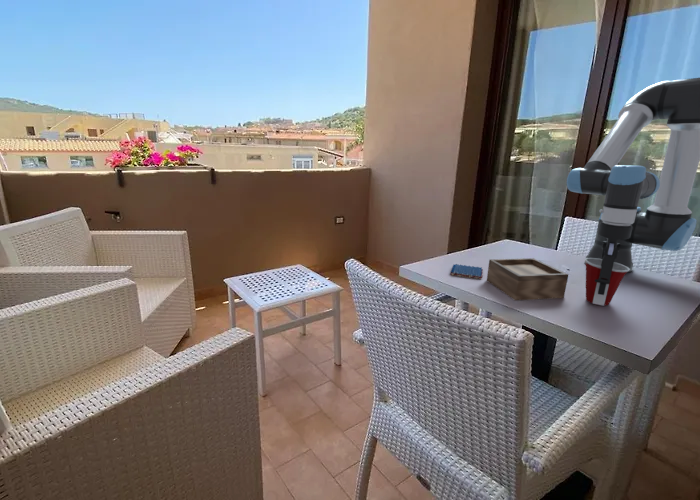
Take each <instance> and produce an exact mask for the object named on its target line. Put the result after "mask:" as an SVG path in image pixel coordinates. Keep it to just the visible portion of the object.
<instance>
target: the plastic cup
mask: <svg viewBox="0 0 700 500" xmlns="http://www.w3.org/2000/svg"><path fill="white" fill-rule="evenodd" d="M585 258H586V257H585ZM585 262H586V264H585V300H586V301H587V302H588V303H590V304H593V299H594V294H595V290H596V285H597V282H595V279H596V280H598V279H599V275H600V271H601V264H602V259H597V258H586V259H584V263H585ZM629 270H630V269H629V268H628V267H626V266H624V265H622V264H619V263H616V262H614V264H613V268H612V273H611V277H610V283H609V286H608V291H607V295H606V299H605V304H604V306H609V305H610V303H611V302H612V300H613V297H614V296H615V294H616V292H617V290H618V288H619V286H620V284H621V281H622V280H623V278H624V277H625V275H626V274H627V273H629V272H628V271H629ZM603 279H606V278H603ZM595 305H597V306H599V305H598V304H595Z"/></svg>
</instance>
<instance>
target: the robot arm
mask: <svg viewBox="0 0 700 500" xmlns="http://www.w3.org/2000/svg"><path fill="white" fill-rule="evenodd" d="M617 117H618V119H617V120H616V122H615V123H614V124H613V126H612V127H611V128H610V130H609V132H608V133H607V135H606V136H605V137H604V138H603V140H602V142H601V143H600V145H599V146H598V147H597V148H596V150H595V151H594V153H593V154H592V156H591V157H590V158H589V160H588V162H586V163H585V165H584V166H583V167H577V168H576V167H575V168H573V169H571V170H570V172H568V175H567V178H566V188H567V189H568V191H570V192H573V193H577V194H587V195H598V196H605V197H604V202H603V207H602V208H601V209H599V213H600V215H599V218H598V222H597V228H596V233H595V236H594V242H593V245H592V247H591V248H590V251H589V252H588V254H587V255H586V256H585V257H584V258H585V259H586V258H597V259H602V264H601V271H600V275H599V279H598V280H596V279H595V282H597V285H596V290H595V294H594V299H593V303H592V304H593V305H596V304H598V305H597V306H605V305H604V304H605V299H606V295H607V291H608V286H609V283H610V277H611V273H612V268H613V264H614V262H616V263H619V264H622V265H624V266H626V267H628V268H629V269H630V270H629V271H628V272H627V273H630V272H632V271H633V269H634V263H633V258H632V256H633V255H632V249H633V248H632V246H633V245H638V246H644V247H649V248H654V249H659V250H661V251H671V252H679V251H681V250H682V249H683V248H685V246H686V245H687V244H688V242H689V241H690V239H691V238H692V235H693V233H694V231H695V229H696V226H697V221H698V220H697V219H696V218H694V217H692V215H693V212H692V210H691V209H690V208H689V207H688V206H689V201H690V198H691V193H692V189H693V186H694V181H695V178H696V176H697V172H698V168H699V164H700V77H695V78H694V77H693V78H683V79H676V80H663V81H660V82H656V83H655V84H652V85H649V86H647V87H646V88H644V89H643V90H640V91H639V92H638V93H636V94H635V95H634V96H632V97H631V98H630V99H629V100H628V101H626V103H625V104H624V105H623V106H622V107H621V109H620V110H619V112H618V115H617ZM656 120H667V122H666V126H667V127H668V128H669V129H670V134H669V139H668V143H667V146H666V147H667V148H666V151H665V156H664V159H663V164H662V168H661V172H660V176H659V177H660V178H659V177H658V175H656V174H655V173H654V172H651V171H647V167H646V166H643V165H633V164H632V165H629V164H627V165H626V164H619V163H620V161H621V160H622V158H623V157H624V155H625V154H626V153H627V152H628V150H629V149H630V147H631V145H632V144H633V142H634V141H635V139H636V138H637V136H638V135H639V134H640V132H641V131H642V129H644V128H645V127H647V126H648V125H650V124H651V123H652V121H656ZM654 194H655V197H654V202H653V204H651V205H649V206H648V207H646V212H645V211H642V207H640V206H638V205H639V202H640V200H644V199H648V198H649V197H651V196H654ZM585 259H584V260H585ZM584 264H585V265H586V262H585V261H584ZM603 278H606V279H603Z"/></svg>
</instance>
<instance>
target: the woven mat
mask: <svg viewBox="0 0 700 500" xmlns="http://www.w3.org/2000/svg"><path fill="white" fill-rule="evenodd" d="M483 272H484V270H483V267H480V266H473V265H472V266H471V265H466V264H464V265H463V264H457V263H456V264H453V265H452V268H451V271H450V275H451V276H452V277H454V276H455V277H459V278H461V277H462V278H465V279H468V278H469V279H475V280H478V279H479V280H482V278H483V276H484V275H483Z"/></svg>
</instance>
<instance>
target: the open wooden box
mask: <svg viewBox="0 0 700 500" xmlns="http://www.w3.org/2000/svg"><path fill="white" fill-rule="evenodd" d="M487 269H488V270H487V275H486V282H488V283H489V284H490V285H492V286H493V287H495V288H496V289H498V290H500V291H501V292H502V293H503V294H505V295H506V296H508V297H510V299H512V300H514V301H530V300H531V301H532V300H550V299H553V300H554V299H565V293H566V289H567V283H568V278H569V274H568V273H566V272H564V271H562V270H560V269H557V268H556V267H553V266H552V265H549V264H547V263H546V262H542V261H540V260H538V259H536V258H534V257H530V258H528V257H527V258H525V257H524V258H498V259H490V258H489V259H488V268H487Z"/></svg>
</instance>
